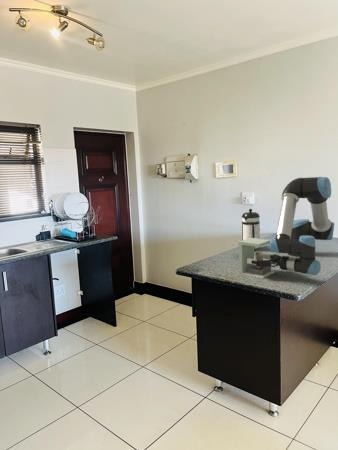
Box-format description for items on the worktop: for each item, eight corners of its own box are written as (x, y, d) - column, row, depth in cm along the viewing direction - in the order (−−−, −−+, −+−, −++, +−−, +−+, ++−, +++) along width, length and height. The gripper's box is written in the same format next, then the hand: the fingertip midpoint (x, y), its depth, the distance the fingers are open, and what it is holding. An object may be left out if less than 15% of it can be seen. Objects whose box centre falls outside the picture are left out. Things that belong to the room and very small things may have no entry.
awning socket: (274, 272, 194) (274, 240, 192) (262, 278, 185) (262, 244, 183) (251, 268, 205) (251, 237, 202) (239, 273, 196) (238, 241, 193)
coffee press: (265, 251, 245) (265, 209, 240) (242, 252, 245) (242, 210, 240) (259, 245, 262) (259, 206, 257) (238, 246, 262) (237, 207, 257)
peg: (262, 270, 197) (262, 252, 196) (262, 272, 193) (262, 253, 192) (255, 270, 198) (255, 252, 197) (255, 272, 194) (255, 253, 193)
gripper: (277, 276, 174) (241, 269, 189) (299, 265, 191) (265, 259, 206) (277, 261, 173) (241, 256, 188) (299, 252, 190) (265, 247, 205)
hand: (253, 257), depth 197 cm, fingers open, 13 cm apart
